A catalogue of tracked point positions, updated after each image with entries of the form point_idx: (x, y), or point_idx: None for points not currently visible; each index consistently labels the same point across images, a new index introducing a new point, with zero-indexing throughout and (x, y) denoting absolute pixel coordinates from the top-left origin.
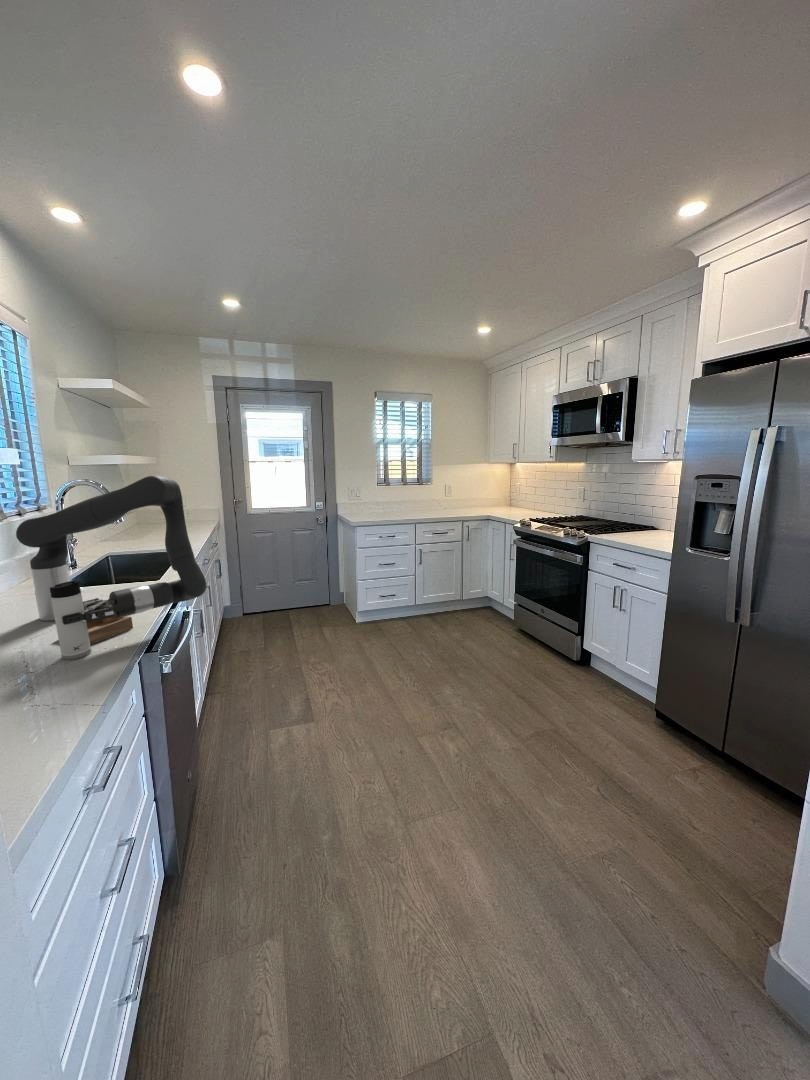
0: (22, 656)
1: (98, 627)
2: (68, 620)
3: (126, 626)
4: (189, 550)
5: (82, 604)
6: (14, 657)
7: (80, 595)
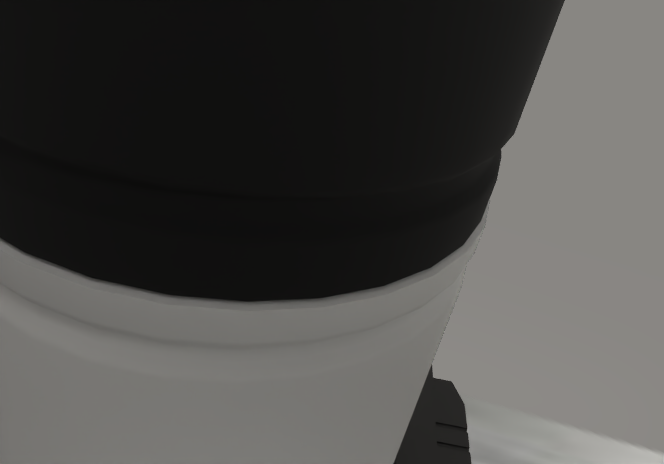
0: (507, 459)
1: None
2: None
3: None
4: None
5: (13, 462)
6: (523, 433)
7: (3, 294)
